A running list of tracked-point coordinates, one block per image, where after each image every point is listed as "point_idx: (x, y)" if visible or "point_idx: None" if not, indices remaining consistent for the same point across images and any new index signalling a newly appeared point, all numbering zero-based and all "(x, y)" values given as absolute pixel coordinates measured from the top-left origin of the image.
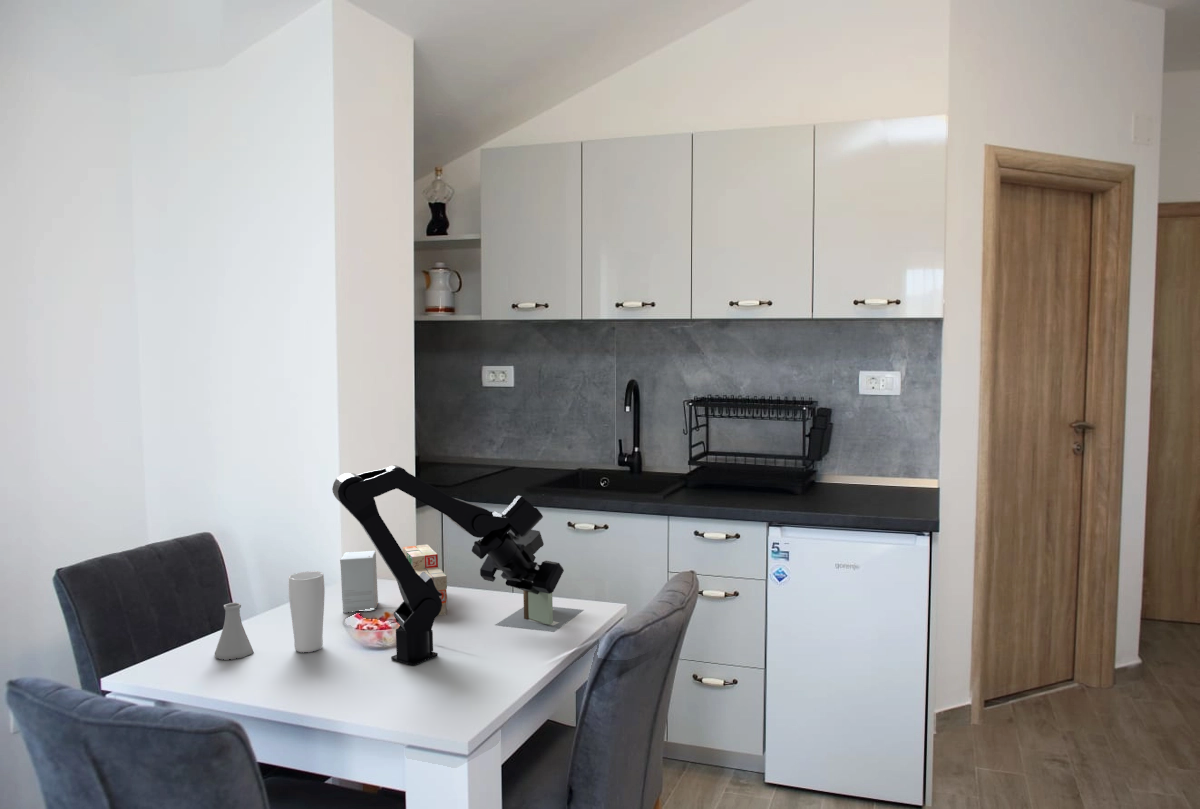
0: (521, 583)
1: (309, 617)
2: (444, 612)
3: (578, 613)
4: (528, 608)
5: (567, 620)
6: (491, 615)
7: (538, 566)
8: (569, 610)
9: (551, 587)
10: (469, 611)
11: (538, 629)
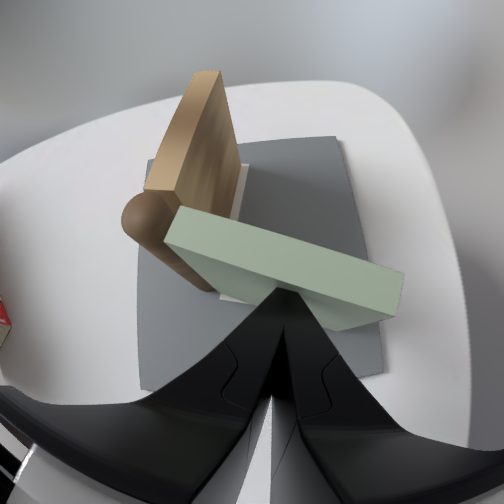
0: (235, 498)
1: None
2: (3, 329)
3: (344, 167)
4: (211, 284)
5: (357, 241)
6: (85, 283)
7: (497, 488)
8: (300, 153)
9: None
10: (34, 274)
11: None
